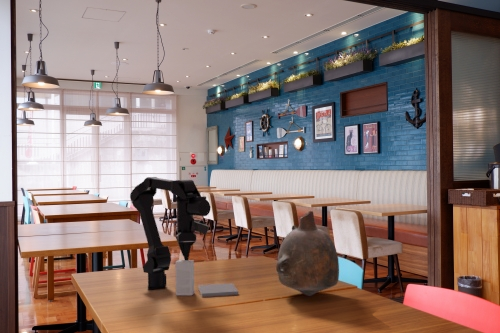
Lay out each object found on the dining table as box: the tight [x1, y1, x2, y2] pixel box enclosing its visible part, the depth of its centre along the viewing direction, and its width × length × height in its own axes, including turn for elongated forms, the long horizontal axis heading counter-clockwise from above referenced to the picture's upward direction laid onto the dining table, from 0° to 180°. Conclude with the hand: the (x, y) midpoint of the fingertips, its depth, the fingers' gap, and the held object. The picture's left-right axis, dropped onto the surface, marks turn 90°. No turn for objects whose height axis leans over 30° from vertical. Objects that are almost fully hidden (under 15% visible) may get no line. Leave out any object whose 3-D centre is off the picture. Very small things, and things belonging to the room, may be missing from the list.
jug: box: [275, 210, 340, 297], centre depth 173 cm, size 24×21×30 cm
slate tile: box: [198, 282, 239, 298], centre depth 181 cm, size 13×13×1 cm
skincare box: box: [174, 259, 195, 296], centre depth 177 cm, size 6×4×12 cm
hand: (185, 258), depth 178 cm, fingers open, 9 cm apart
